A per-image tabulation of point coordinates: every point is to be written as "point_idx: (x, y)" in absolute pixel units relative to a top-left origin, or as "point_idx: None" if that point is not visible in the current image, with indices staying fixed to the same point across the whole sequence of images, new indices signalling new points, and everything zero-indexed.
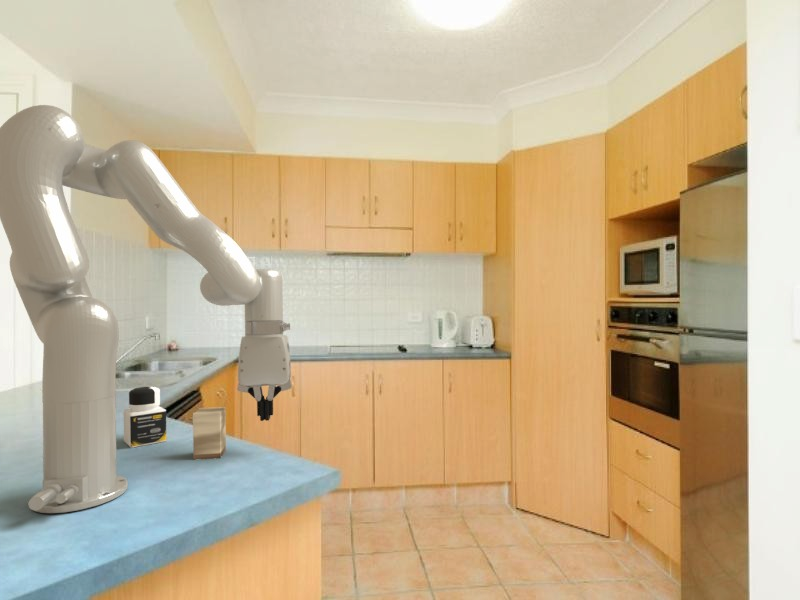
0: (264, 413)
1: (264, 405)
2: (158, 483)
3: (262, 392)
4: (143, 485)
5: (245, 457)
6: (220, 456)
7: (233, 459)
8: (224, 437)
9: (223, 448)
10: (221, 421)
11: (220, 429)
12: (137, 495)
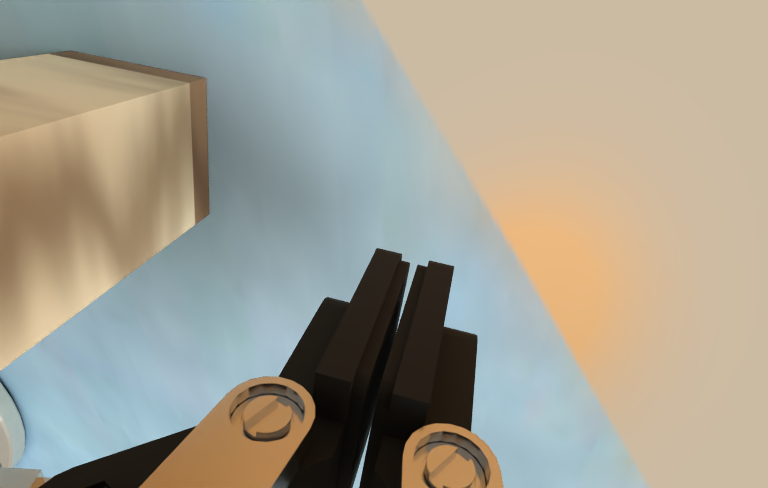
0: (383, 372)
1: (365, 431)
2: (79, 388)
3: (283, 476)
4: (43, 383)
5: (330, 255)
6: (205, 213)
7: (276, 260)
8: (152, 134)
9: (191, 152)
10: (61, 273)
11: (105, 279)
12: (68, 443)
